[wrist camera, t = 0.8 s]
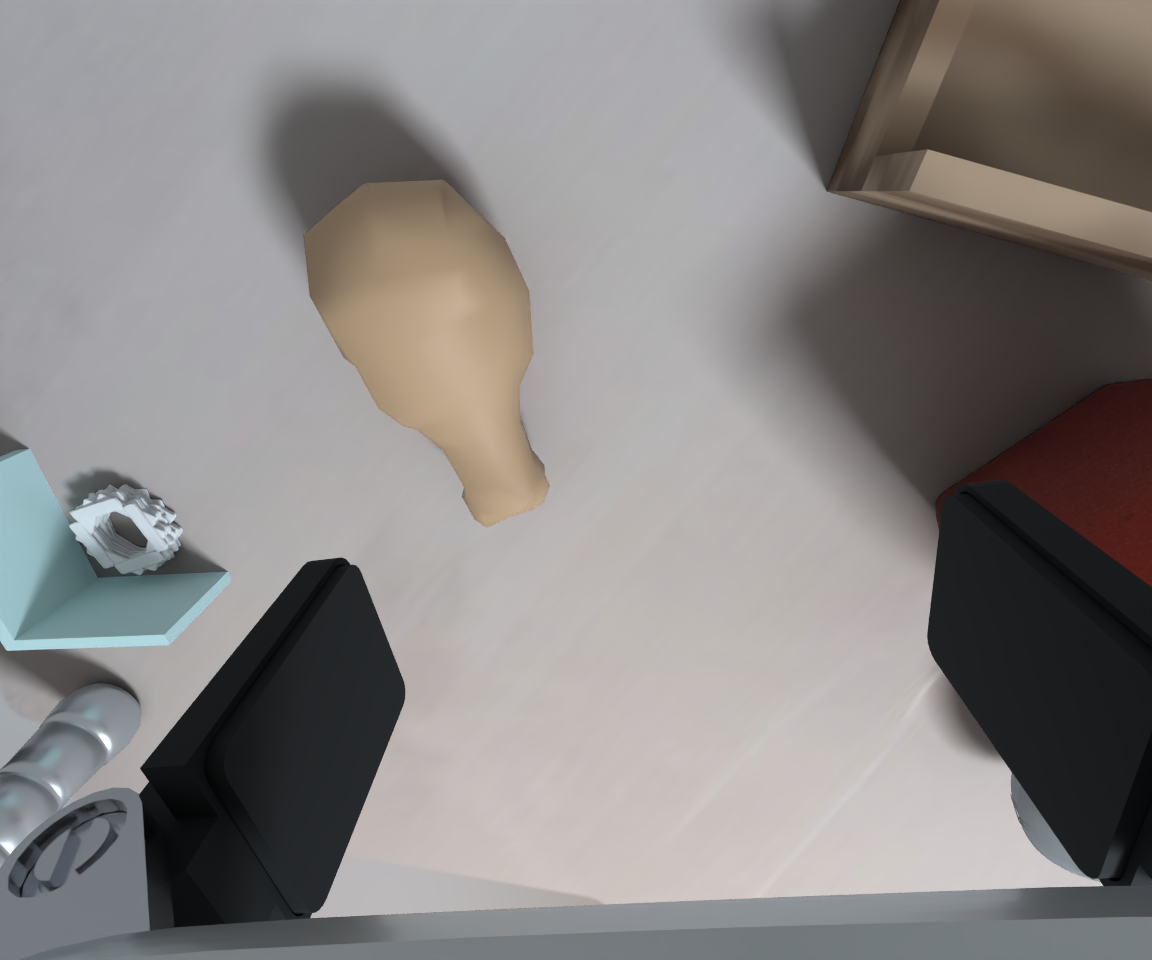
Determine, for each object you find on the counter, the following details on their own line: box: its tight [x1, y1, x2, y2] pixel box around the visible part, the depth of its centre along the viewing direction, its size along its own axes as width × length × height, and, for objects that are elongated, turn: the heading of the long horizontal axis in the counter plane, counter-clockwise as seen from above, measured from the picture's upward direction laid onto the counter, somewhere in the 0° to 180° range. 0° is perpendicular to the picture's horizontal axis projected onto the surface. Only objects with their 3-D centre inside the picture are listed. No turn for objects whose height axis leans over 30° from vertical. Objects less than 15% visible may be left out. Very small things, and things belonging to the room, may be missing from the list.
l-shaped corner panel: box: [0, 449, 232, 651], centre depth 41 cm, size 12×12×8 cm
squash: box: [304, 180, 550, 527], centre depth 33 cm, size 11×20×9 cm, turn 20°
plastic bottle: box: [0, 683, 141, 867], centre depth 44 cm, size 6×7×20 cm
